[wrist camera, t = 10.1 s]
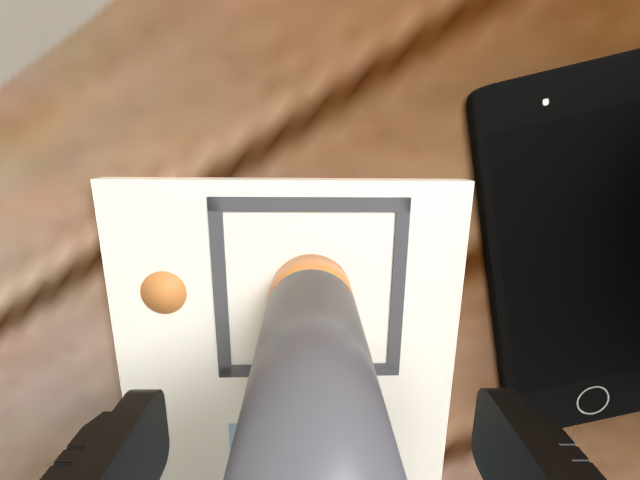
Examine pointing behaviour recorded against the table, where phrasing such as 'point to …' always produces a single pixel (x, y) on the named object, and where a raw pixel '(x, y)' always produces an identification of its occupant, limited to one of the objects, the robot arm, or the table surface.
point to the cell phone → (563, 234)
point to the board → (254, 287)
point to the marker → (313, 387)
